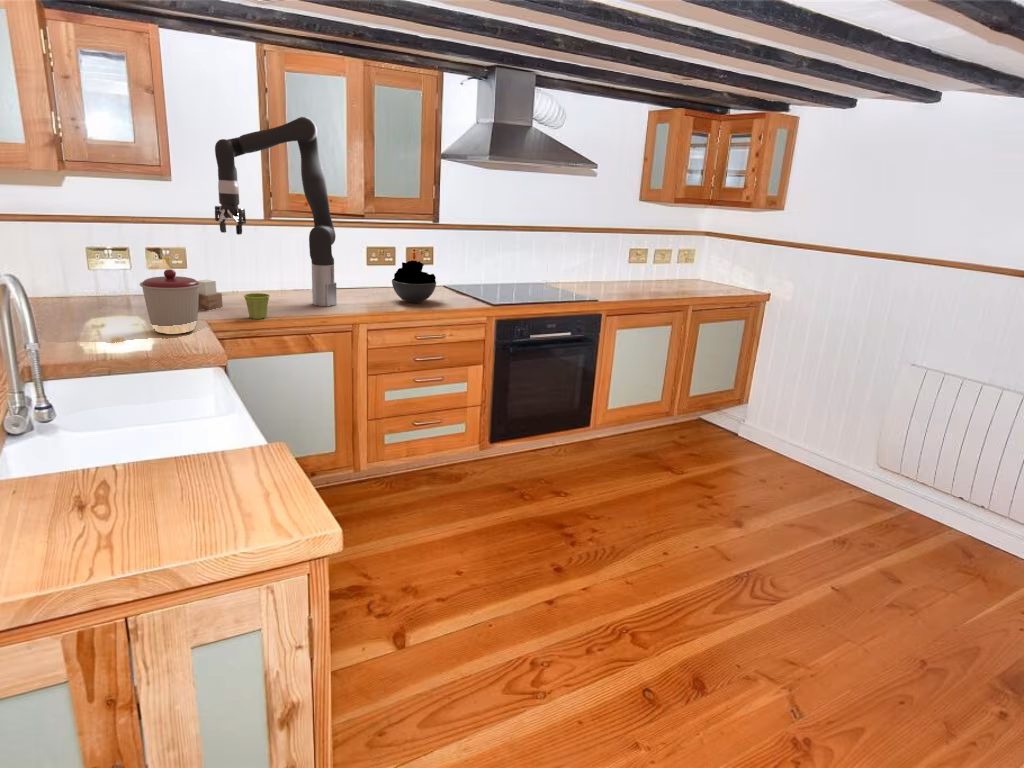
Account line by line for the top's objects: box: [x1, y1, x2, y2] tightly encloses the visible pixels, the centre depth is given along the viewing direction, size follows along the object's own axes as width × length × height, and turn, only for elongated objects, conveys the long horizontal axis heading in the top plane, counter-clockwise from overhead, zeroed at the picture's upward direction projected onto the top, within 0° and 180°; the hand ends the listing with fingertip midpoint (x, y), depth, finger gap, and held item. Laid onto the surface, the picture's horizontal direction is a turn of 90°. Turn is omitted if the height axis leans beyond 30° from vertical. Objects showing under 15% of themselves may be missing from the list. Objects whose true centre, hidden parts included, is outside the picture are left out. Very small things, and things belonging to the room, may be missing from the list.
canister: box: [139, 268, 201, 326], centre depth 218 cm, size 18×18×21 cm
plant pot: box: [243, 292, 271, 320], centre depth 247 cm, size 9×9×9 cm
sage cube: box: [197, 279, 218, 295], centre depth 256 cm, size 5×5×5 cm
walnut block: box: [198, 292, 224, 311], centre depth 258 cm, size 8×8×6 cm
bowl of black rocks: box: [391, 260, 437, 304], centre depth 296 cm, size 20×20×19 cm
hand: (231, 233), depth 266 cm, fingers open, 8 cm apart
